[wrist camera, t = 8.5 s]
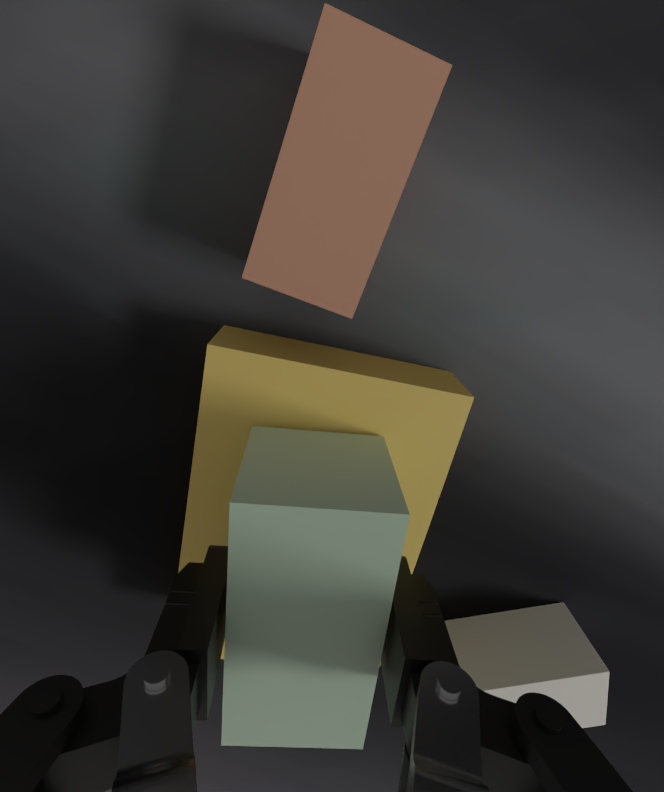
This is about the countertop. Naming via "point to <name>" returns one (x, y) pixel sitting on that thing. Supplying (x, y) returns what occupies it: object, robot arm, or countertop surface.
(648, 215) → the countertop surface
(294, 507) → the sage brick
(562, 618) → the cream brick
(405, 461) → the mustard base brick
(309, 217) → the rust brick
